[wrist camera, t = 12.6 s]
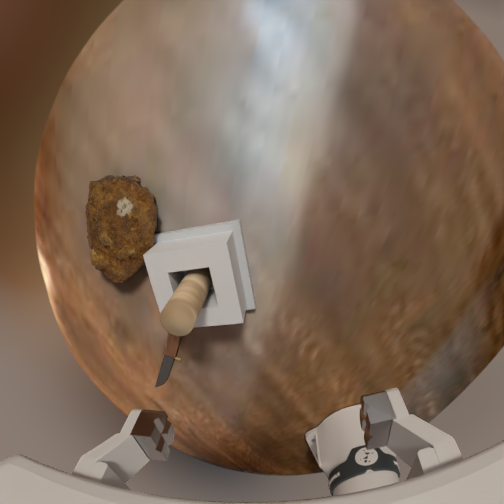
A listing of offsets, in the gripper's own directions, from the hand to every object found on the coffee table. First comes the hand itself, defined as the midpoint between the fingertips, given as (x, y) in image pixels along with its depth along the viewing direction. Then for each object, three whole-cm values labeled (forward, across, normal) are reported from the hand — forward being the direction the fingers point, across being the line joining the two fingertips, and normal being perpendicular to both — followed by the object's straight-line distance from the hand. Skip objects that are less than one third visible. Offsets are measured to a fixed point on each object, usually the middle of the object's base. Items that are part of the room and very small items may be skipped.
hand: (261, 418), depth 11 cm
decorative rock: (+29, +20, -4) cm, 35 cm away
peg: (+28, +10, +4) cm, 30 cm away
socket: (+29, +10, +4) cm, 31 cm away
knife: (+29, +18, +18) cm, 39 cm away
